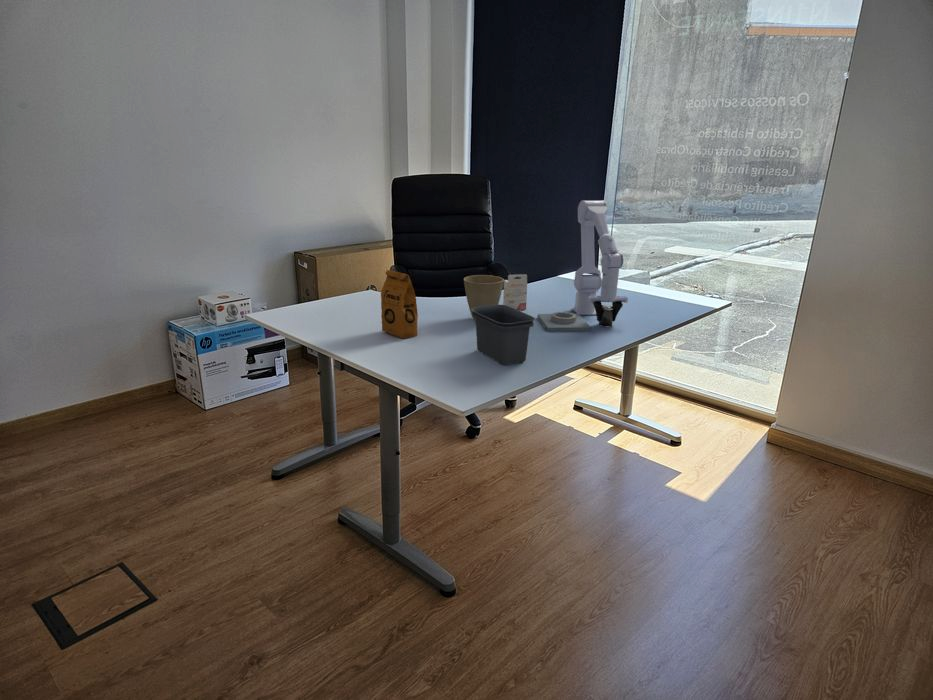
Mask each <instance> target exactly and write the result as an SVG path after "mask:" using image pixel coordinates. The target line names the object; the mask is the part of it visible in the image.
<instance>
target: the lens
mask: <svg viewBox="0 0 933 700" xmlns="http://www.w3.org/2000/svg"><path fill="white" fill-rule="evenodd" d="M602 305H603V304H602ZM613 313H614V307H613V306H612V305H608V304H606V305H605V304H604V305H603V307H602V311H601V320H600V321H598V326H600V325H601V327H603V326H611V327H612V326H613V322H614V321H613Z"/></svg>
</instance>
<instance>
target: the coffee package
mask: <svg viewBox="0 0 933 700" xmlns="http://www.w3.org/2000/svg"><path fill="white" fill-rule="evenodd" d="M385 275H386V278H385V280H384V283H383V286H382V289H381V292H380V299H381V301H380V302H381V303H380V307H381V309H380V310H381V317H380V318H381V331H382V332H385V333H387V334H390V335H392V336H394V337H397V338H401V339H403V340H404V339H408V338H411V337H416V336H418V318H419V315H418V304H417V297H416V294H415V289H414V287H413V284H412V280H411V277H410V276H409V274H406V273H402V272H401V271H400V272H399V271H395V270H389V269H388V270H386V272H385Z"/></svg>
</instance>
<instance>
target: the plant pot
mask: <svg viewBox="0 0 933 700" xmlns="http://www.w3.org/2000/svg"><path fill="white" fill-rule="evenodd" d="M504 280H505V279H504V278H502V277H500V276H496V275H490V274H489V275H487V274H475V275H468V276H466V277H464V278H463V285H464V289H465V290H464V291H465V296H466V301H467V304H468V305H467V306H468V309H469V311H470V314H471V318H472V320H473V321H474V322H476V318H475V317H473V316H472V313H473V311H471V308H473V307H480V306H488V305H500V302H501V301H500V299H501V296H502V292H503V288H504Z"/></svg>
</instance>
